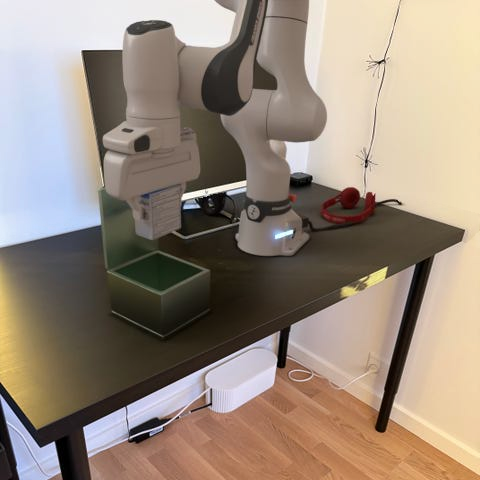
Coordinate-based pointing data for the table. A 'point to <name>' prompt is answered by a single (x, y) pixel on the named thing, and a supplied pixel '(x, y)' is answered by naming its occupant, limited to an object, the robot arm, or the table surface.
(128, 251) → the lid
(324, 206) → the headphones
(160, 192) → the medicine box
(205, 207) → the controller
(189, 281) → the green hollow box
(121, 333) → the table surface
